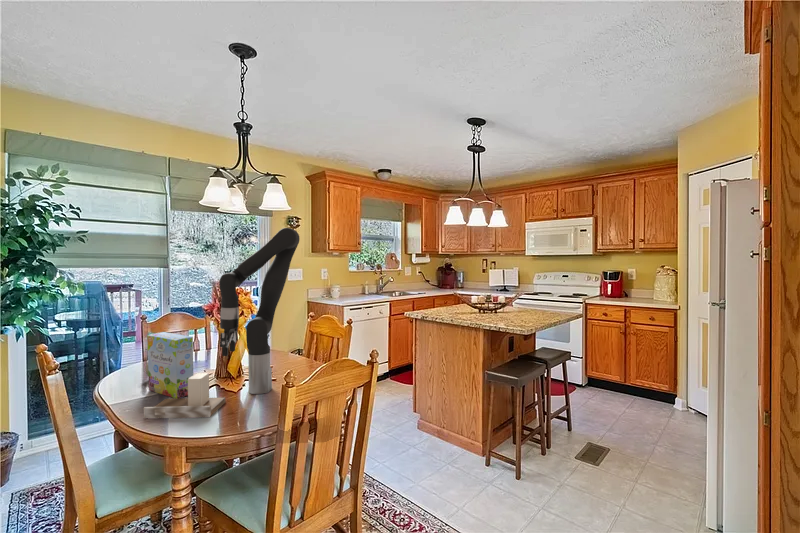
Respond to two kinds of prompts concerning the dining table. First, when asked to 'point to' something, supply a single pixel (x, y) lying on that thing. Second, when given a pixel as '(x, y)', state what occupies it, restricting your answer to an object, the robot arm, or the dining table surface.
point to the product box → (198, 389)
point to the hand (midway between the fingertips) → (228, 353)
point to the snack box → (170, 363)
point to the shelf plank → (183, 408)
